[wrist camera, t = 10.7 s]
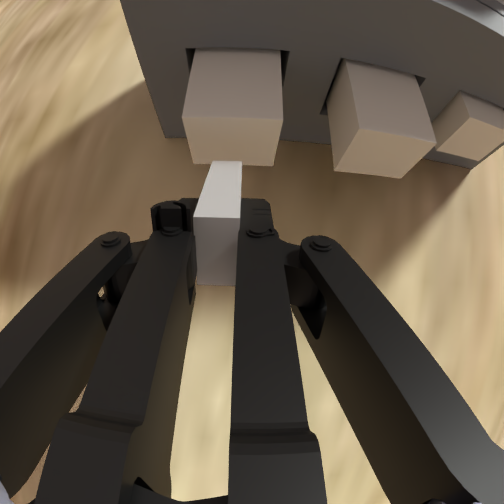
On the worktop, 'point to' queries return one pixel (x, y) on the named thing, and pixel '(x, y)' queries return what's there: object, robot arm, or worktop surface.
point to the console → (325, 51)
